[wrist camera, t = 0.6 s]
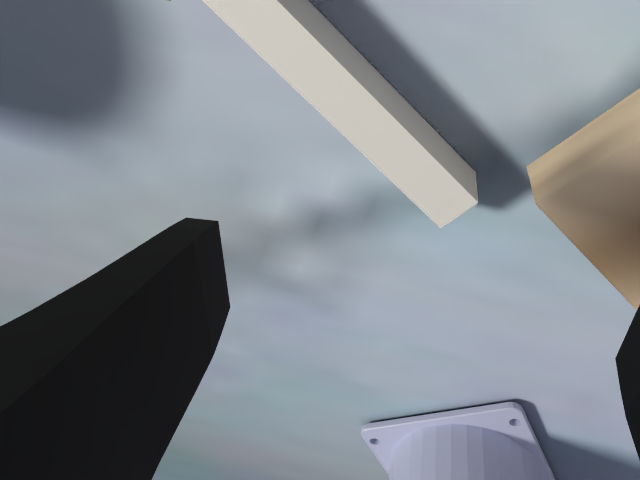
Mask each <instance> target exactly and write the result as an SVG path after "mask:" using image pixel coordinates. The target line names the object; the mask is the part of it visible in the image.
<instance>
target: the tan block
mask: <svg viewBox="0 0 640 480" xmlns="http://www.w3.org/2000/svg"><path fill="white" fill-rule="evenodd" d="M527 171H528V175H529V179H530V183H531V187H532V191H533V195H534V199H535V203H536V205H537V206H538V207H539V208H540V209H541V210H542V211H543V212H544V213H545V214H546V216H547V217H548V218H549V219H550V220H551V221H552V222H553V223H554V224H555V225H556V226H557V227H558V228H559V229H560V230H561V231H562V232H563V233H564V234H565V236H566V237H567V238H568V239H569V240H570V241H571V242H572V243H573V244H574V245H575V246H576V247H577V248H578V249H579V250H580V251H581V252H582V253H583V254H584V256H585V257H586V258H587V259H588V260H589V261H590V262H591V263H592V264H593V265H594V266H595V267H596V268H597V269H598V270H599V271H600V272H601V273H602V274H603V275H604V277H605V278H606V279H607V280H608V281H609V282H610V283H611V284H612V285H613V286H614V287H615V288H616V289H617V290H618V291H619V292H620V293H621V294H622V295H623V297H624V298H625V299H626V300H627V301H628V302H629V303H630V304H631V305H632V306H633V307H634V308H635V309H636V310H637V309H638V307H639V305H640V88H639V89H638V90H636V91H635V92H633V93H632V94H631V95H629V96H628V97H626V98H625V99H623V100H622V101H620V102H619V103H618V104H616V105H615V106H613V107H612V108H610V109H609V110H607V111H606V112H605V113H603V114H602V115H600V116H599V117H597V118H596V119H594V120H593V121H592V122H590V123H589V124H587V125H586V126H584V127H583V128H581V129H580V130H579V131H577V132H576V133H574V134H573V135H571V136H570V137H568V138H567V139H566V140H564V141H563V142H561V143H560V144H558V145H557V146H555V147H554V148H553V149H551V150H550V151H548V152H547V153H545V154H544V155H542V156H541V157H540V158H538V159H537V160H535V161H534V162H532V163H531V164H529V165H528V166H527Z"/></svg>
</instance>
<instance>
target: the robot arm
mask: <svg viewBox="0 0 640 480" xmlns="http://www.w3.org/2000/svg"><path fill="white" fill-rule="evenodd" d="M229 309H230V302H229V295H228V288H227V281H226V274H225V267H224V259H223V252H222V245H221V238H220V231H219V224H218V221H212V220H203V219H193V218H185V219H183V220H181V221H179V222H177V223H176V224H174V225H172V226H170V227H169V228H167V229H166V230H164V231H162V232H161V233H159V234H157V235H156V236H154V237H153V238H151V239H149V240H148V241H146V242H145V243H143V244H142V245H140V246H138V247H137V248H135V249H134V250H132V251H131V252H129V253H127V254H126V255H124V256H123V257H121V258H119V259H118V260H116V261H115V262H113V263H111V264H110V265H108V266H106V267H105V268H103V269H102V270H100V271H98V272H97V273H95V274H94V275H92V276H90V277H89V278H87V279H85V280H84V281H82V282H80V283H78V284H77V285H75V286H73V287H71V288H70V289H68V290H66V291H64V292H63V293H61V294H59V295H57V296H56V297H54V298H52V299H50V300H49V301H47V302H45V303H43V304H42V305H40V306H38V307H36V308H35V309H33V310H31V311H29V312H27V313H25V314H24V315H22V316H20V317H18V318H16V319H14V320H12V321H10V322H8V323H6V324H4V325H2V326H0V480H152V478H153V475H154V473H155V471H156V469H157V467H158V464H159V462H160V460H161V458H162V456H163V454H164V453H165V451H166V449H167V447H168V445H169V443H170V441H171V439H172V437H173V435H174V433H175V431H176V429H177V427H178V425H179V423H180V421H181V419H182V417H183V415H184V413H185V411H186V409H187V407H188V405H189V403H190V402H191V400H192V398H193V396H194V394H195V392H196V390H197V388H198V386H199V384H200V382H201V380H202V378H203V376H204V374H205V372H206V370H207V368H208V366H209V364H210V361H211V359H212V357H213V355H214V353H215V350H216V347H217V344H218V342H219V339H220V336H221V333H222V330H223V327H224V324H225V321H226V318H227V315H228V312H229ZM616 365H617V371H618V377H619V383H620V390H621V395H622V400H623V405H624V410H625V415H626V419H627V422H628V425H629V429H630V432H631V435H632V438H633V441H634V444H635V447H636V450H637V453H638V457H639V460H640V305H639V307H638V309H637V312H636V314H635V316H634V318H633V321H632V323H631V325H630V327H629V329H628V332H627V334H626V336H625V338H624V341H623V343H622V345H621V347H620V350H619V352H618V354H617V356H616ZM361 435H362V437H363V439H364V440H365V441H366V443H367V444H368V446H369V447H370V449H371V450H372V452H373V453H374V454H375V456H376V457H377V459H378V460H379V462H380V463H381V465H382V466H383V467H384V469H385V470H386V472H387V473H388V475H389V480H555V478H554V475H553V473H552V471H551V469H550V467H549V464H548V462H547V460H546V458H545V456H544V454H543V451H542V449H541V447H540V445H539V443H538V440H537V438H536V436H535V434H534V432H533V430H532V427H531V425H530V423H529V421H528V419H527V416H526V414H525V412H524V410H523V408H522V406H521V405H519V404H518V403H515V402H505V403H498V404H492V405H485V406H479V407H472V408H466V409H459V410H452V411H446V412H439V413H433V414H426V415H420V416H413V417H407V418H400V419H394V420H387V421H381V422H374V423H368V424H365V425H363V426H362V430H361Z"/></svg>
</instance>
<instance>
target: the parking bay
mask: <svg viewBox="0 0 640 480" xmlns="http://www.w3.org/2000/svg"><path fill="white" fill-rule="evenodd" d="M166 1H167V2H168V1H170V0H166ZM202 1H203V2H204V3H205V4H206V5H207V6H209V7H210V8H211V9H212V10H213V11H214V12H215V13H216V14H217V15H218V16H219V17H220V18H221V19H222V20H223V21H224V22H225V23H226V24H227V25H228V26H229V27H230V28H232V29H233V30H234V31H235V32H236V33H237V34H238V35H239V36H240V37H241V38H242V39H243V40H244V41H245V42H246V43H247V44H248V45H249V46H250V47H251V48H252V49H254V50H255V51H256V52H257V53H258V54H259V55H260V56H261V57H262V58H263V59H264V60H265V61H266V62H267V63H268V64H269V65H270V66H271V67H272V68H273V69H274V70H275V71H277V72H278V73H279V74H280V75H281V76H282V77H283V78H284V79H285V80H286V81H287V82H288V83H289V84H290V85H291V86H292V87H293V88H294V89H295V90H296V91H297V92H299V93H300V94H301V95H302V96H303V97H304V98H305V99H306V100H307V101H308V102H309V103H310V104H311V105H312V106H313V107H314V108H315V109H316V110H317V111H318V112H319V113H320V114H322V115H323V116H324V117H325V118H326V119H327V120H328V121H329V122H330V123H331V124H332V125H333V126H334V127H335V128H336V129H337V130H338V131H339V132H340V133H341V134H342V135H343V136H345V137H346V138H347V139H348V140H349V141H350V142H351V143H352V144H353V145H354V146H355V147H356V148H357V149H358V150H359V151H360V152H361V153H362V154H363V155H364V156H365V157H367V158H368V159H369V160H370V161H371V162H372V163H373V164H374V165H375V166H376V167H377V168H378V169H379V170H380V171H381V172H382V173H383V174H384V175H385V176H386V177H387V178H388V179H390V180H391V181H392V182H393V183H394V184H395V185H396V186H397V187H398V188H399V189H400V190H401V191H402V192H403V193H404V194H405V195H406V196H407V197H408V198H409V199H410V200H412V201H413V202H414V203H415V204H416V205H417V206H418V207H419V208H420V209H421V210H422V211H423V212H424V213H425V214H426V215H427V216H428V217H429V218H430V219H431V220H432V221H433V222H435V223H436V224H437V225H438V226H439V227H440V228H442V227H443V226H445V225H446V224H448V223H449V222H451V221H452V220H454V219H455V218H456V217H458V216H459V215H461V214H462V213H464V212H465V211H467V210H468V209H470V208H471V207H472V206H474V205H475V204H477V203H478V194H477V182H476V172H475V171H474V170H473V169H472V168H471V167H470V166H469V165H468V164H467V163H466V162H465V161H464V160H463V159H462V158H461V157H460V156H459V155H458V154H457V153H456V151H455V150H454V149H453V148H452V147H451V146H450V145H449V144H448V143H447V142H446V141H445V140H444V139H443V138H442V137H441V136H440V135H439V134H438V133H437V132H436V131H435V130H434V129H433V128H432V127H431V126H430V125H429V124H428V123H427V122H426V121H425V120H424V119H423V118H422V117H421V116H420V114H419V113H418V112H417V111H416V110H415V109H414V108H413V107H412V106H411V105H410V104H409V103H408V102H407V101H406V100H405V99H404V98H403V97H402V96H401V95H400V94H399V93H398V92H397V91H396V90H395V89H394V88H393V87H392V86H391V85H390V84H389V83H388V82H387V81H386V80H385V79H384V78H383V76H382V75H381V74H380V73H379V72H378V71H377V70H376V69H375V68H374V67H373V66H372V65H371V64H370V63H369V62H368V61H367V60H366V59H365V58H364V57H363V56H362V55H361V54H360V53H359V52H358V51H357V50H356V49H355V48H354V47H353V46H352V45H351V44H350V43H349V42H348V41H347V40H346V38H345V37H344V36H343V35H342V34H341V33H340V32H339V31H338V30H337V29H336V28H335V27H334V26H333V25H332V24H331V23H330V22H329V21H328V20H327V19H326V18H325V17H324V16H323V15H322V14H321V13H320V12H319V11H318V10H317V9H316V8H315V7H314V6H313V5H312V4H311V3H310V2H309V0H202Z"/></svg>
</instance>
